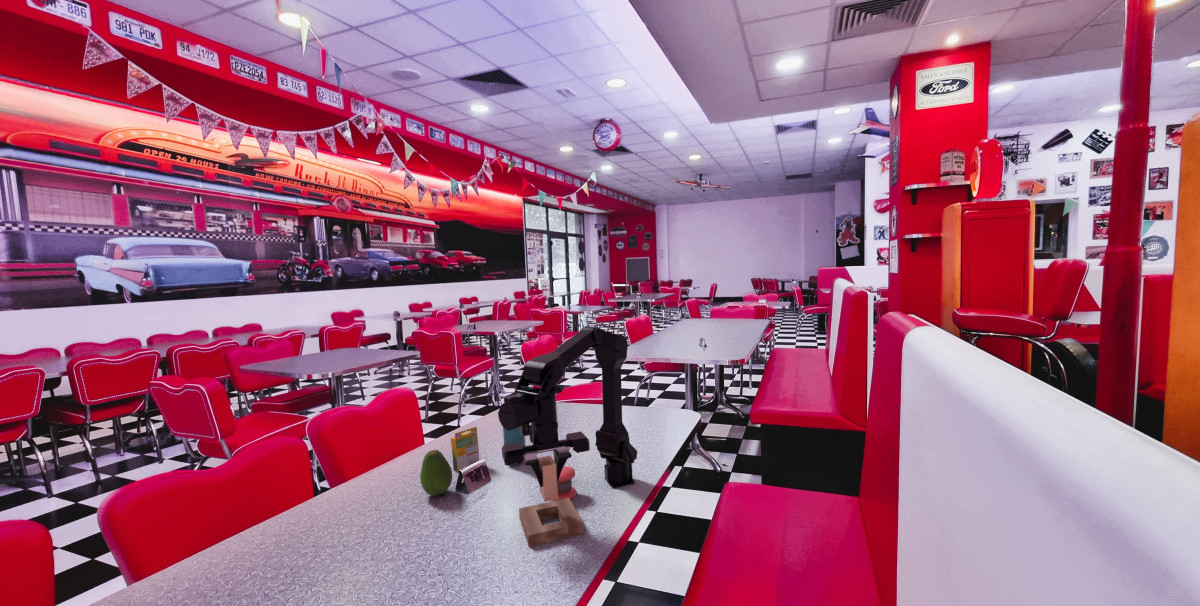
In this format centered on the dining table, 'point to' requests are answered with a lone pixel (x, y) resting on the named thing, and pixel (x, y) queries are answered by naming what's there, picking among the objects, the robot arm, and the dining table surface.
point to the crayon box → (465, 448)
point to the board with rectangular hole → (555, 531)
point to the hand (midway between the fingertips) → (548, 484)
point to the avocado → (435, 473)
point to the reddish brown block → (548, 478)
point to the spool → (566, 484)
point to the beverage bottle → (513, 436)
